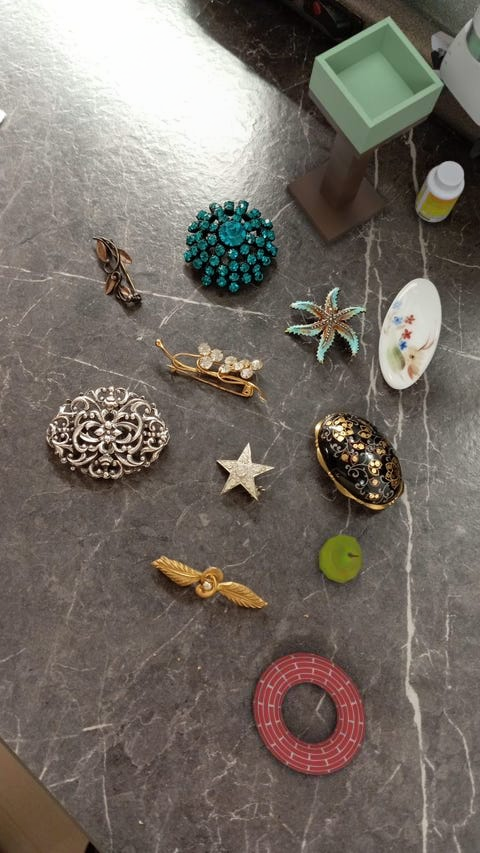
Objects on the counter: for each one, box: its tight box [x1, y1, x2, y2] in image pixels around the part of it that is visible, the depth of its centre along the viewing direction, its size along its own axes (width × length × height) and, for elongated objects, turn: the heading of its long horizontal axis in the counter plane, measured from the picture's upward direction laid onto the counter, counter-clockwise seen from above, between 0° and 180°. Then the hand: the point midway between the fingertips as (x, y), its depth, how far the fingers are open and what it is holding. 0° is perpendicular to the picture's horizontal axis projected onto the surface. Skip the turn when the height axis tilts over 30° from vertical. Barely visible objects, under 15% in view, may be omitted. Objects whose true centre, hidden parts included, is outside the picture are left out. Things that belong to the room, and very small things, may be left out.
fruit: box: [318, 533, 364, 584], centre depth 119 cm, size 6×6×12 cm
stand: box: [285, 88, 430, 246], centre depth 126 cm, size 11×11×26 cm
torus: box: [252, 652, 367, 776], centre depth 118 cm, size 16×14×4 cm
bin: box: [308, 16, 444, 154], centre depth 111 cm, size 11×11×6 cm
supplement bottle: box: [414, 160, 465, 223], centre depth 135 cm, size 6×6×10 cm
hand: (457, 123), depth 119 cm, fingers open, 9 cm apart
